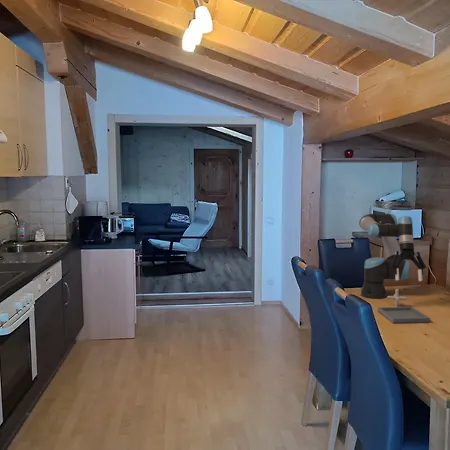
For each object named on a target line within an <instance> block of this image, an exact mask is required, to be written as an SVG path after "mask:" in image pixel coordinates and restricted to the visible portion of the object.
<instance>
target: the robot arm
mask: <svg viewBox="0 0 450 450" xmlns="http://www.w3.org/2000/svg"><path fill="white" fill-rule="evenodd" d="M358 223H359V227H360V228H361V229H362V230H363V231H367V233H368V236H369V237H374V238H377V237H381V239H382V244H383V248H384V252H385V256H386V258H384V257H380V256H379V257H378V256H377V257H369V258H368V259H367V258H366V259H365V260H364V266H363V268H364V271H363V272H364V273H363V274H364V275H363V278H364V279H363V285H362V287H361V290H360V295H361V297H364V298H368V299H375V300H376V299H385V298H387V290H386V287H385V283H384V282H385V280H395V281H401V280H407V279H408V278H409V276H410V272H411V264H410V261H412V263H413V264H414V265H415V266H416V267H417V268H418V269H417V275H418V276H417V277H418V282H423V276H424V270H425V269H427V266H426V263H425V262H424V260H423V258H422V256H421V252H420V251H416V252H415V245H414V229H413V217H411V216H409V215H408V216H407V215H405V216H399V217H398V218H397V216H396V215H395V214H393V213H368V214H365V215H363V216H362V217H361V218H360V219H359V222H358ZM398 241H399V242H398ZM409 260H410V261H409Z"/></svg>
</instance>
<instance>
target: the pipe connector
mask: <svg viewBox="0 0 450 450" xmlns="http://www.w3.org/2000/svg"><path fill="white" fill-rule="evenodd" d="M399 290H400V289H399V288H395V292H394V294H393V295H386V299H387V300H394V307H399V302H401V300H402V301H403V300H404V301H406V300H407V296H402V295H401V296H400V295H399V294H400V293H399V292H400V291H399Z"/></svg>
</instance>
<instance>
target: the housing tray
mask: <svg viewBox="0 0 450 450" xmlns="http://www.w3.org/2000/svg"><path fill="white" fill-rule="evenodd" d="M377 313H379V314H380V315H381V316H383V317H384V318H385V319H387V320H388V321H389V322H390V323H391V324H393V325H397V324H398V325H400V324H401V325H403V324H430V323H431V317H429V316H427V314H425V313H423V312H421V311H420V310H419V309H416V308H415V307H413V306H398V307H395V306H385V307H383V306H382V307H381V306H380V307H377Z"/></svg>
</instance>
